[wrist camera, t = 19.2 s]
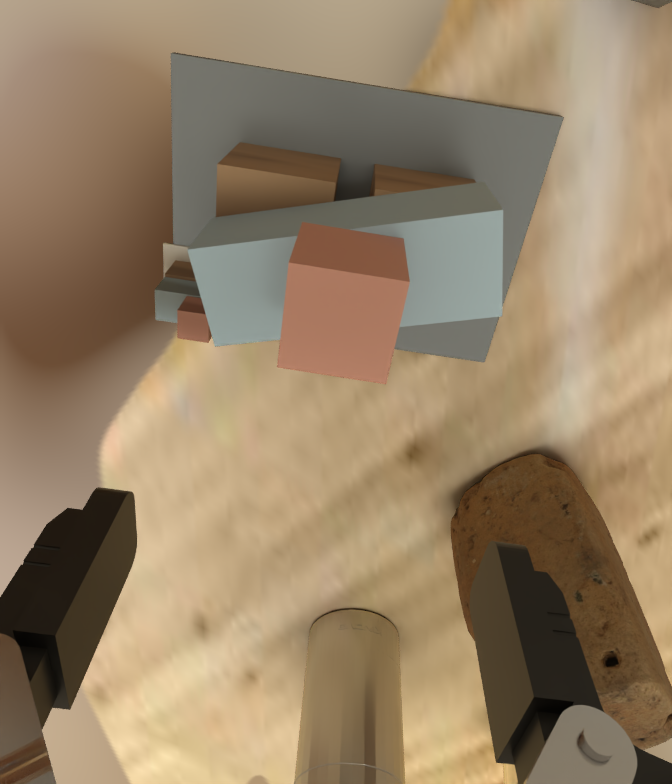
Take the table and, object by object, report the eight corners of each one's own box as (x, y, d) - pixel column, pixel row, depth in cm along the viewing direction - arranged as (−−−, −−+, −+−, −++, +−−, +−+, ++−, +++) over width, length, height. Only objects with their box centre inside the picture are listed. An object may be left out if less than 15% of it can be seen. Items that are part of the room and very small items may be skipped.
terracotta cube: (383, 329, 28) (386, 384, 24) (291, 314, 28) (277, 367, 24) (403, 238, 26) (409, 281, 21) (302, 221, 25) (288, 262, 21)
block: (557, 434, 45) (668, 681, 28) (594, 495, 48) (713, 751, 31) (434, 490, 49) (467, 738, 32) (476, 543, 52) (526, 795, 35)
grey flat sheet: (482, 358, 42) (484, 362, 41) (176, 312, 41) (174, 316, 41) (560, 116, 33) (563, 117, 33) (173, 52, 32) (170, 53, 32)
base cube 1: (449, 274, 38) (461, 313, 33) (358, 260, 38) (356, 297, 33) (474, 179, 35) (491, 207, 30) (374, 163, 34) (375, 188, 29)
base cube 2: (327, 255, 38) (321, 292, 33) (235, 241, 37) (214, 276, 32) (341, 158, 34) (336, 182, 29) (239, 142, 34) (217, 163, 29)
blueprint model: (269, 320, 40) (253, 368, 35) (165, 304, 40) (132, 350, 35) (274, 259, 38) (257, 301, 32) (163, 242, 38) (128, 281, 32)
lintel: (484, 276, 32) (502, 316, 27) (234, 304, 33) (215, 346, 29) (484, 181, 29) (503, 209, 25) (212, 217, 31) (187, 249, 26)
